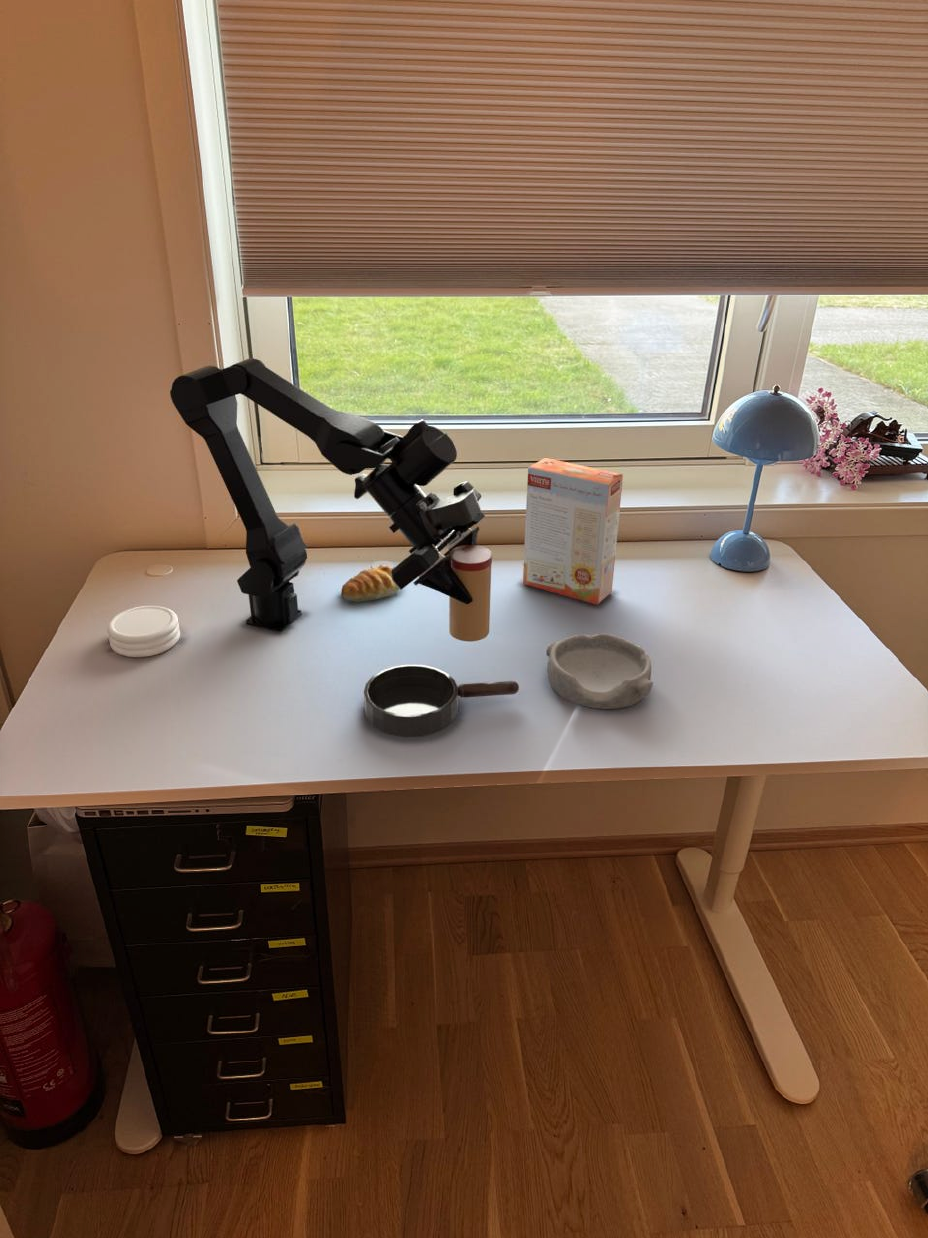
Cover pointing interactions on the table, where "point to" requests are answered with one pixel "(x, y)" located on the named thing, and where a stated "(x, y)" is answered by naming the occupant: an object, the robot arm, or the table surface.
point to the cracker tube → (471, 593)
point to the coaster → (143, 631)
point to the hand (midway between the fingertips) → (479, 593)
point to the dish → (599, 671)
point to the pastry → (370, 585)
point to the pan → (411, 700)
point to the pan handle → (487, 689)
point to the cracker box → (571, 529)
